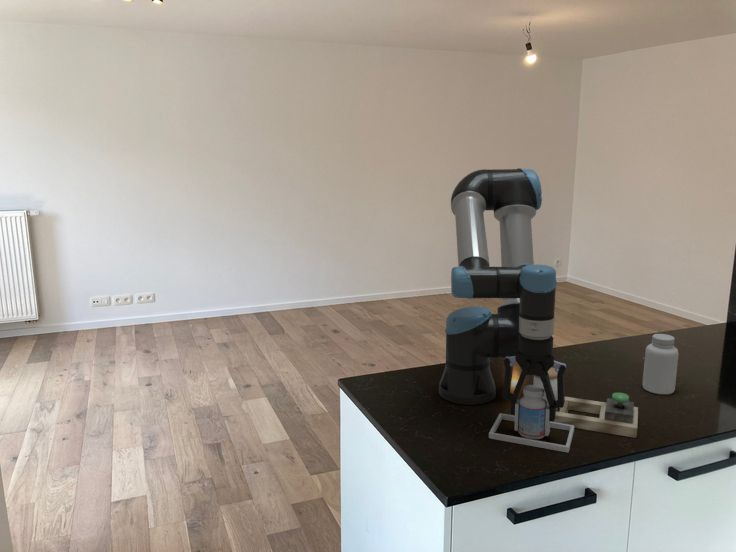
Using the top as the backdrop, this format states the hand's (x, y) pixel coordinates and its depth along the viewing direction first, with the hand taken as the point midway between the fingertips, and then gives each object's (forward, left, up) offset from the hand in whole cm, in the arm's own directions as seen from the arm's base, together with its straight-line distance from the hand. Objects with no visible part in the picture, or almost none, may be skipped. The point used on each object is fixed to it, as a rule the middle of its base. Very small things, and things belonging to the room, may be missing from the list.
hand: (532, 430), depth 136 cm
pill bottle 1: (0, 0, -1) cm, 1 cm away
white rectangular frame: (0, 0, -1) cm, 1 cm away
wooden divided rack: (+9, +13, -1) cm, 16 cm away
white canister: (+1, +13, -1) cm, 13 cm away
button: (+18, +13, +3) cm, 22 cm away
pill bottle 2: (+27, +39, -1) cm, 47 cm away
